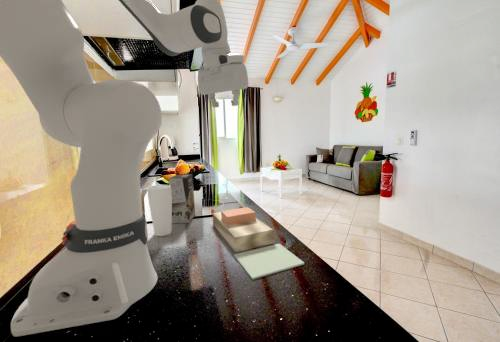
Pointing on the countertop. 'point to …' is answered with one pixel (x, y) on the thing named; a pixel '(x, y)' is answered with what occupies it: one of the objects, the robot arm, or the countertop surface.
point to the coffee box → (182, 198)
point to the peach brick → (238, 215)
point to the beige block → (244, 233)
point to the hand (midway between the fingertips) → (225, 106)
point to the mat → (267, 260)
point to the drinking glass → (161, 209)
